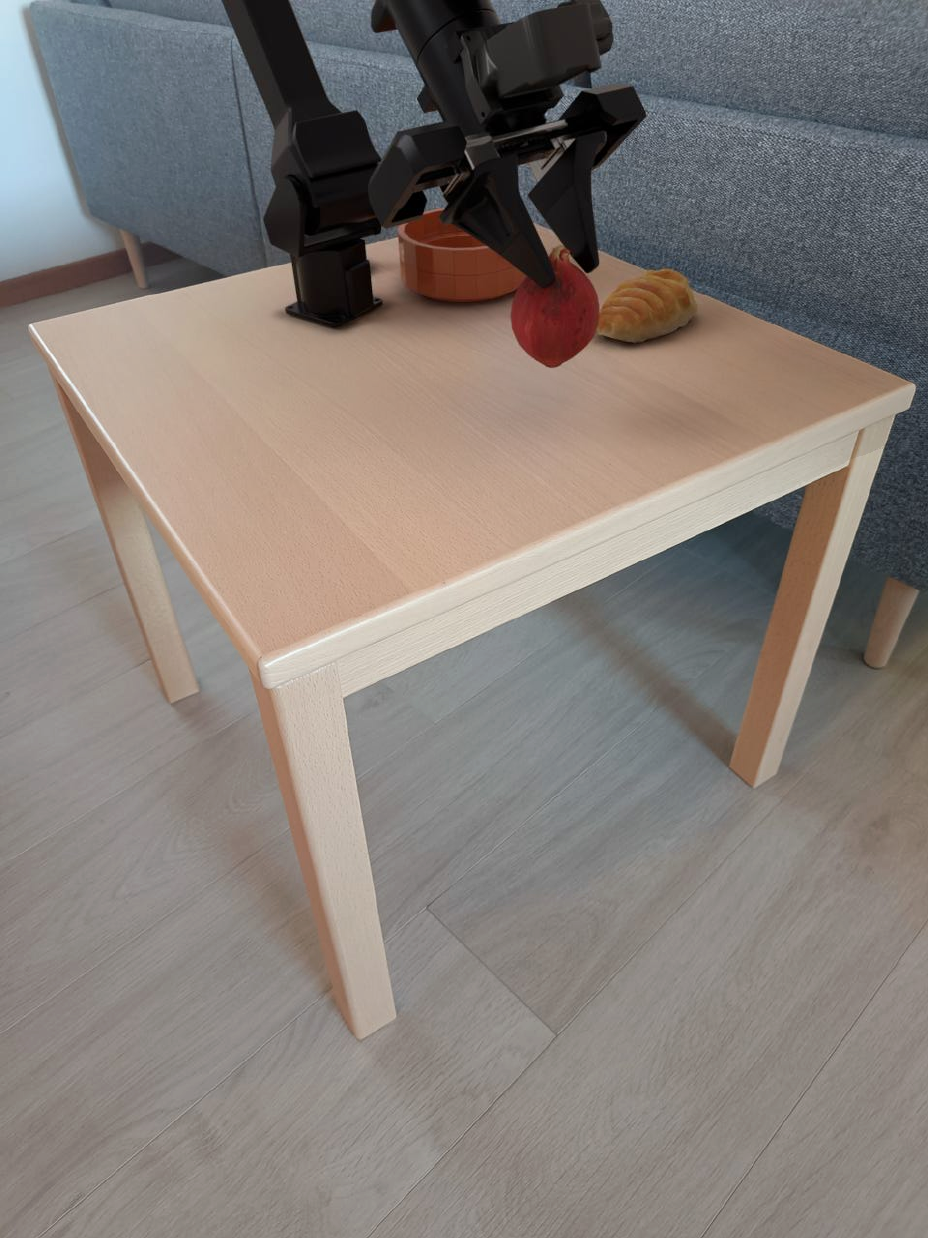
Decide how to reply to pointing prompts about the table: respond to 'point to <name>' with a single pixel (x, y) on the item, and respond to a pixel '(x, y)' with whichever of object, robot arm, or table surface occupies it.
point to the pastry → (647, 307)
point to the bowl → (452, 263)
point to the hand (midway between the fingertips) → (572, 277)
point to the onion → (556, 313)
